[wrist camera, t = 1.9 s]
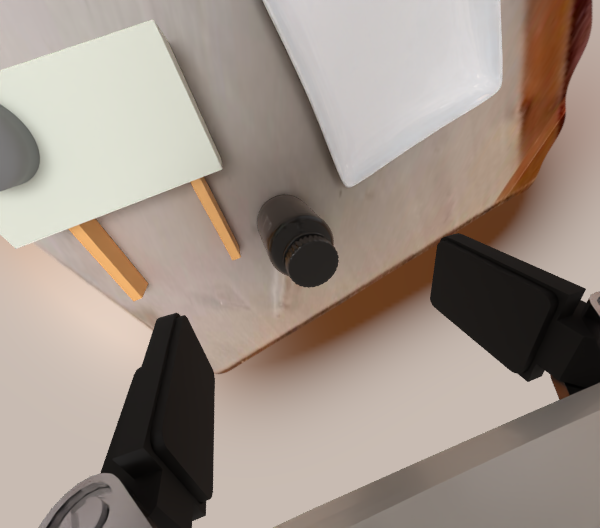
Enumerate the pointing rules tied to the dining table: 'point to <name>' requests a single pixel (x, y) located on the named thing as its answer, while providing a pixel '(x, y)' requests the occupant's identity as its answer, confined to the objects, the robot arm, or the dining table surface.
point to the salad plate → (389, 70)
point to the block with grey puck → (100, 143)
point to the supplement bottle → (297, 241)
